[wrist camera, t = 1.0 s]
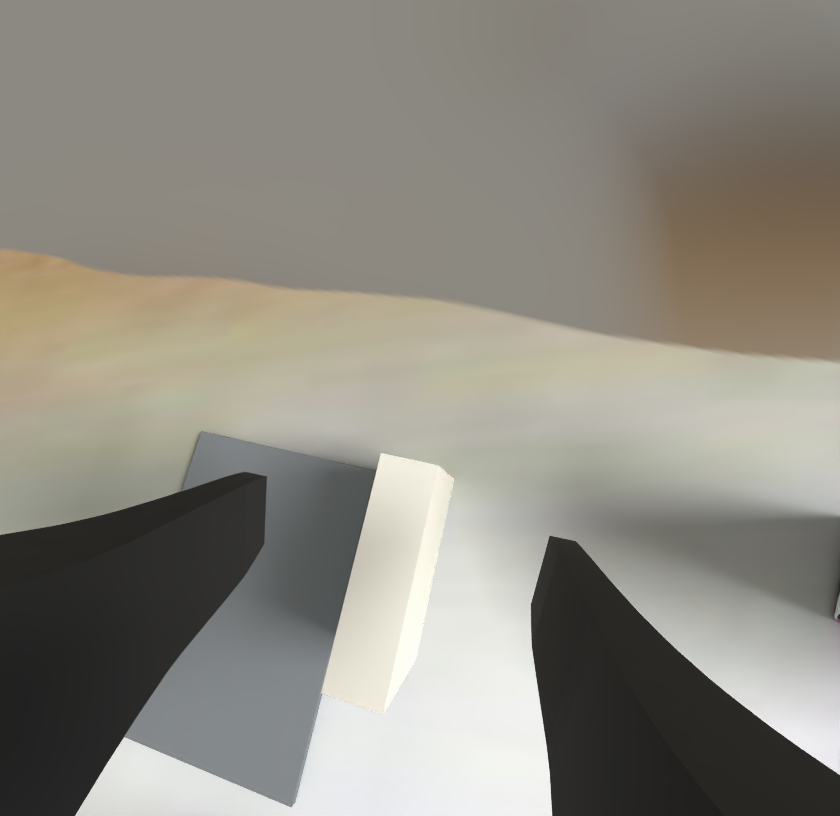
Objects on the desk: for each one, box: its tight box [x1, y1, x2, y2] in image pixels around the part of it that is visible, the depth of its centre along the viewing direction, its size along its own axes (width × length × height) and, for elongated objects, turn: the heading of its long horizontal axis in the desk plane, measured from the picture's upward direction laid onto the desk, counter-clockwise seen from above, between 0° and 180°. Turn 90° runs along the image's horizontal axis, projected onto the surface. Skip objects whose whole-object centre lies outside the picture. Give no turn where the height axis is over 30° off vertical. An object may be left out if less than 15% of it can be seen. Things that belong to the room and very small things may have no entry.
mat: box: [124, 431, 376, 807], centre depth 24 cm, size 16×11×1 cm
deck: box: [321, 453, 454, 715], centre depth 20 cm, size 9×2×6 cm, turn 167°
